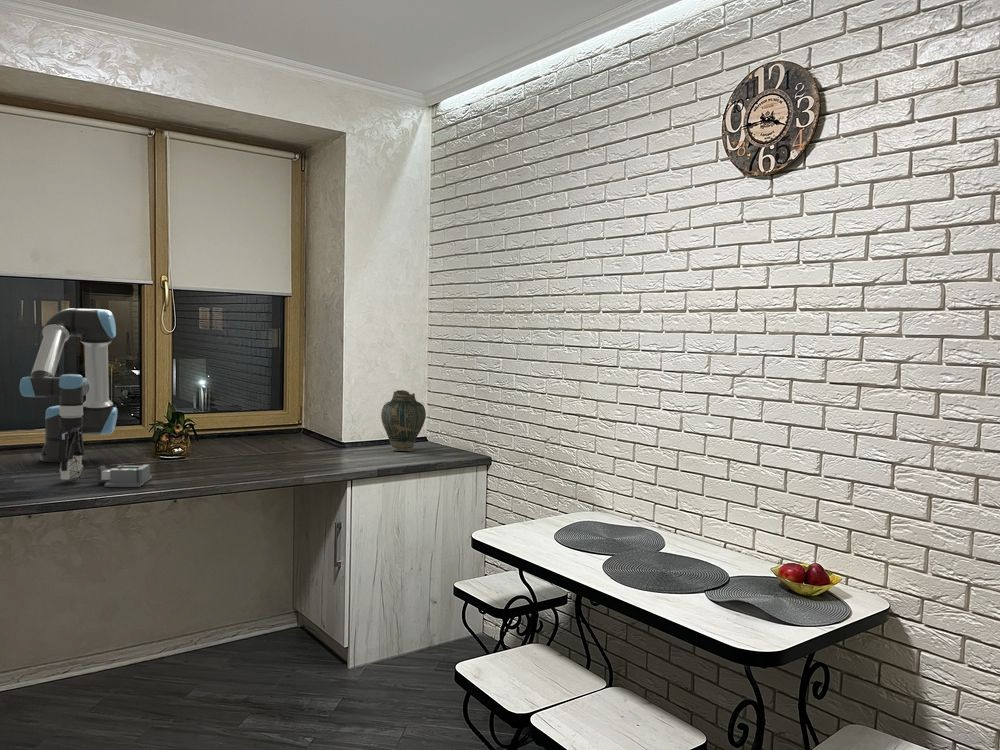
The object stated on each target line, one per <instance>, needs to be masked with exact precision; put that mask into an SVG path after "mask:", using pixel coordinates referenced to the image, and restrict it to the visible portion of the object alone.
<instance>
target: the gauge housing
mask: <svg viewBox="0 0 1000 750" xmlns="http://www.w3.org/2000/svg"><path fill="white" fill-rule="evenodd" d="M120 466H121V465H117V466H116V468H109V469H110V480H109V481H107V482H105V483H104V487H105V488H107V487H108V488H109V487H113V488H116V487H117V488H119V487H120V488H121V487H122V488H133V487H134V488H138V487H139V488H140V487H141V485H142V486H143V485H145V484H146V483H148V482H149V481H150V479H151V480H152V478H153V477H152V475H150V474H151V464H143V465H123V466H124V469H121V468H120V469H118V467H120ZM147 481H148V482H147ZM145 482H146V483H145ZM144 483H145V484H144Z"/></svg>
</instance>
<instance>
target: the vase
mask: <svg viewBox="0 0 1000 750" xmlns="http://www.w3.org/2000/svg"><path fill="white" fill-rule="evenodd" d="M415 395H416V394H415V393H410V392H409V391H407V390H403V389H402V390H399V389H397V390H396V391H393V394H392V397H391V398H392V399H390V401H388V402H386V403H384V405H383V407H382V408H381V409H382V410H381V413H380V414H381V415H380V419H381V423H382V426H383V429H384V431H385V433H386V435H387V438H388V440H389V443H390V446H391V450H392V451H393V452H395V451H397V452H413V451H414V448H413V447H414V446H415V442H416V440H417V437H418V436H419V434H420V432H421V431H422V430H423V429H422V428H423V427H424V424H425V420H426V417H427V412H426V408H425V405H423V403H422V402H419V401H418V400H417V399H416V396H415Z"/></svg>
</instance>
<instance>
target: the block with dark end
mask: <svg viewBox="0 0 1000 750" xmlns="http://www.w3.org/2000/svg"><path fill="white" fill-rule="evenodd" d="M119 466H120V467H118V469H120V468H121V469H124V466H125V465H119ZM110 469H111V468H109V469H107V468H106V465H100V466H98V467H97V469H96V470H97V471H96V473H97V474H96V477H97V478H96V480H97V481H102V480H104V481H105V480H109V481H110Z"/></svg>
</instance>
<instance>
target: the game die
mask: <svg viewBox="0 0 1000 750" xmlns="http://www.w3.org/2000/svg"><path fill="white" fill-rule="evenodd" d="M68 461H70V479H76V478H78V479H81V474H82V473H83V469H84V467H86V466H87V465H86V464H83V463H82V462H81V463H80V462H79V461H77V459H76V457H74V459H69V460H68ZM55 473H57V474H58V473H59V474H60V475H61V466H60V467H59V468H58V470H57V471H56V472H55ZM70 479H69V480H70ZM69 480H66V482H68V481H69Z"/></svg>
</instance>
